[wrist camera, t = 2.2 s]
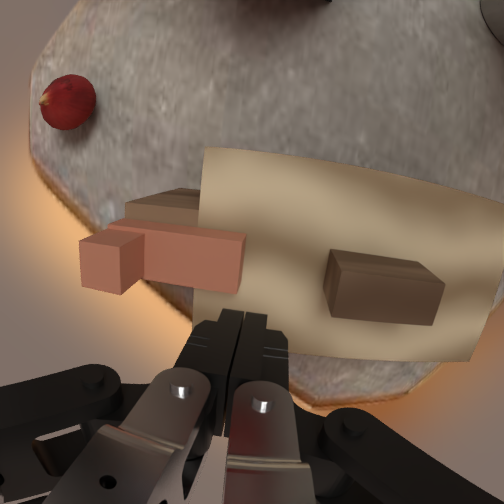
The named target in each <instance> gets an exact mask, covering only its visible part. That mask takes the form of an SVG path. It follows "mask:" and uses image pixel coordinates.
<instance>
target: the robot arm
mask: <svg viewBox="0 0 504 504" xmlns="http://www.w3.org/2000/svg"><path fill="white" fill-rule="evenodd" d="M481 11H482V13H483V16H484V19H485V21H486V23H487V25H488V26H489V28H490V30H491V31H492V32H493V34H494V35H495V36H496V38H497V39H498V40H499V41H500V42H501V43H502V44H503V45H504V0H481ZM267 317H268V314H261V313H254V312H247V311H246V314H245V318H244V311H239V310H233V309H226V308H223V309H222V311H221V313H220V316H219V318H218V321H217V322H216V321H210V320H204V321H202V322H200V323H199V324H197V325H196V326H195V327H194V329H193V331H192V332H191V334H190V337H189V338H188V340H187V342H186V344H185V346H184V348H183V350H182V351H181V353H180V355H179V357H178V359H177V361H176V363H175V365H174V367H173V368H171V369H167V370H164V371H162V372H160V373H159V374H158V375H157V376H156V377H155V378H154V379H153V381H152V382H151V383H150V384H122V383H121V380H120V377H119V375H118V374H117V372H116V371H114V370H113V369H112V368H110V367H108V366H105V365H100V364H88V365H84V366H80V367H76V368H72V369H69V370H65V371H62V372H58V373H54V374H50V375H47V376H43V377H39V378H35V379H31V380H27V381H23V382H19V383H15V384H11V385H6V386H2V387H0V504H3V503H6V502H10V501H15V500H19V499H23V498H27V497H31V496H34V495H38V494H42V493H45V492H49V491H51V492H50V494H49V495H47V496H42V497H38V498H35V499H32V500H29V501H25V502H22V503H18V504H189V502H190V499H191V497H192V494H193V492H194V489H195V486H196V484H197V482H198V479H199V476H200V474H201V471H202V469H203V466H204V463H205V461H206V458H207V454H208V449H209V447H210V444H211V440H212V436H213V435H215V436H222V431H223V427H224V423H225V429H224V437H228V438H229V441H228V449H227V457H226V467H225V477H224V487H223V498H222V504H504V502H503V501H501V500H499V499H498V498H496V497H494V496H492V495H491V494H489V493H487V492H485V491H484V490H482V489H481V488H479V487H477V486H476V485H474V484H473V483H471V482H469V481H468V480H466V479H465V478H463V477H462V476H460V475H459V474H457V473H455V472H454V471H452V470H451V469H449V468H448V467H446V466H445V465H443V464H441V463H440V462H439V461H437V460H435V459H434V458H432V457H431V456H430V455H428V454H427V453H425V452H424V451H422V450H421V449H419V448H418V447H416V446H415V445H413V444H412V443H411V442H409V441H408V440H406V439H405V438H403V437H402V436H400V435H399V434H398V433H396V432H395V431H394V430H392V429H391V428H389V427H388V426H387V425H385V424H384V423H382V422H381V421H380V420H378V419H377V418H375V417H374V416H373V415H371V414H370V413H368V412H366V411H364V410H361V409H357V408H340V409H336V410H334V411H332V412H331V413H329V414H328V416H327V417H323V416H320V415H316V414H313V413H310V412H308V411H306V410H304V409H302V408H300V407H299V406H298V405H296V404H295V403H294V401H293V399H292V396H291V394H290V393H289V375H288V339H287V338H286V336H285V335H284V334H283V332H282V331H278V330H271V329H266V326H267ZM78 424H79V425H80V428H81V429H80V430H76V431H73V432H70V433H68V434H64V435H61V436H58V437H54V438H51V439H48V440H44V441H39V440H35V438H37V437H39V436H42V435H45V434H49V433H52V432H55V431H59V430H62V429H65V428H68V427H72V426H75V425H78Z"/></svg>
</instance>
